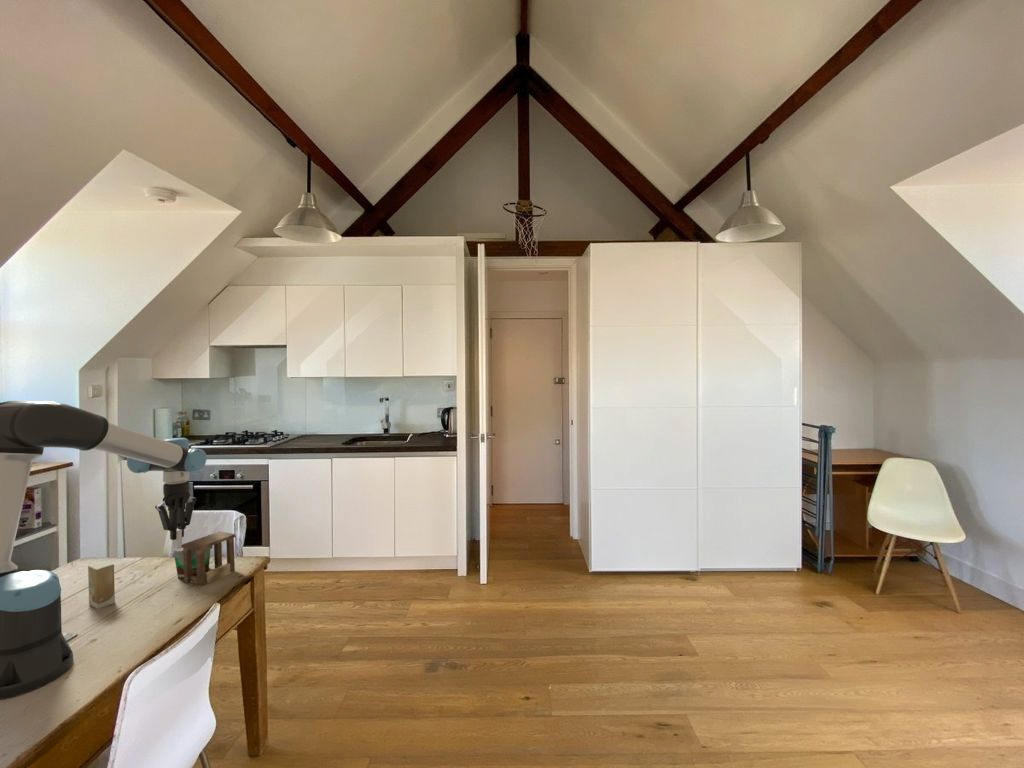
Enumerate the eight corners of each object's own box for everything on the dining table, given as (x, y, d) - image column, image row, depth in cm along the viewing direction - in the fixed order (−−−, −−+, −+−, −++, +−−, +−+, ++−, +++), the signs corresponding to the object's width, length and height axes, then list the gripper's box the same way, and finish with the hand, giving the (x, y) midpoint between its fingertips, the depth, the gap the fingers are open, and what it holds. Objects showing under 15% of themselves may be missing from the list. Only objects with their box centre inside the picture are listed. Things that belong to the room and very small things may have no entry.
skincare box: (88, 604, 136) (86, 565, 136) (106, 598, 140) (104, 559, 139) (97, 609, 133) (96, 569, 133) (116, 602, 137) (114, 563, 136)
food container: (184, 583, 149) (183, 554, 148) (173, 580, 151) (172, 551, 151) (221, 568, 160) (220, 541, 160) (210, 565, 162) (209, 538, 162)
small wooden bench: (200, 587, 146) (198, 548, 146) (182, 583, 149) (181, 544, 149) (237, 570, 158) (236, 534, 158) (220, 566, 161) (219, 531, 161)
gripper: (163, 486, 151) (164, 555, 151) (202, 478, 163) (202, 542, 164) (149, 484, 154) (150, 552, 154) (188, 477, 166) (189, 540, 166)
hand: (177, 547), depth 159 cm, fingers closed
